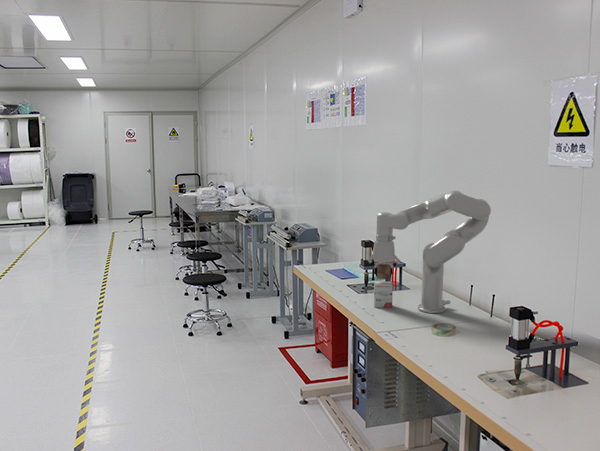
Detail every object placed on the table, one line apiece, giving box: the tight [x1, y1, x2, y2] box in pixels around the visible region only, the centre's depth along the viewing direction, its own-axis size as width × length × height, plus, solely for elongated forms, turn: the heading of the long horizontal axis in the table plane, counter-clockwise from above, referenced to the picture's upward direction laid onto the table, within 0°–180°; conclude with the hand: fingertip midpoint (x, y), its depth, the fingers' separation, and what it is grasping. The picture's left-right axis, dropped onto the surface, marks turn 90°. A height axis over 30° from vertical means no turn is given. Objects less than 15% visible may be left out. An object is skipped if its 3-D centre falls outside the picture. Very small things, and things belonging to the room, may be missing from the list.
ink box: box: [373, 281, 393, 309], centre depth 258 cm, size 9×5×12 cm, turn 84°
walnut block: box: [376, 263, 391, 280], centre depth 256 cm, size 6×6×6 cm
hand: (383, 275), depth 257 cm, fingers closed on walnut block, 6 cm apart
